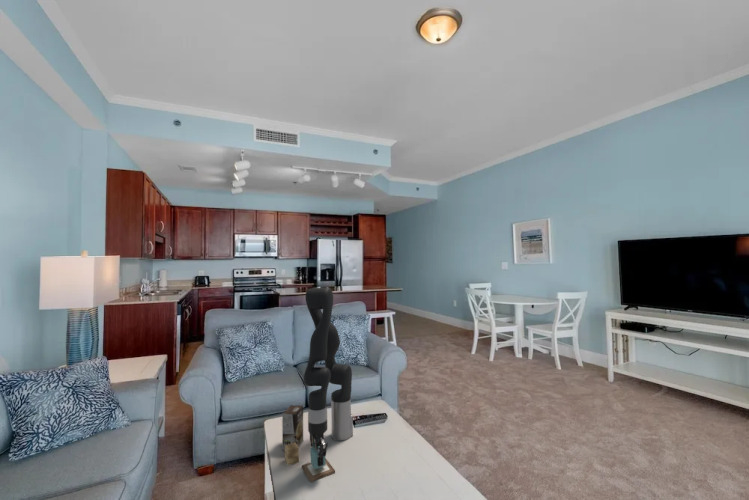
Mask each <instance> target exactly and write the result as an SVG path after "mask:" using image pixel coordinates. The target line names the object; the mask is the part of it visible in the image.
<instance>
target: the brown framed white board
mask: <svg viewBox="0 0 749 500" xmlns="http://www.w3.org/2000/svg"><path fill="white" fill-rule="evenodd" d="M301 469H302V470H303V472H304V474H305V476H306V477H307V479H308V481H309V482H310V483H313V482H314V481H317V480H320V479H323V478H325V477H328V476H330V475H333V474H336V470H335V468H334V467H333V465H331V463H330V462H329V461H328V459H327V458H326V466H323V467H320V468H317V469H314V467H313V466H312V464H311V462H307V463H306V464H303V465H301Z"/></svg>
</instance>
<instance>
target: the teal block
mask: <svg viewBox="0 0 749 500" xmlns="http://www.w3.org/2000/svg"><path fill="white" fill-rule="evenodd" d="M318 447H320V446H318ZM319 451H320V450H319ZM326 459H327V455H326V456H324V457H323V465H322V466H318V456H317V450H316V449H315V447H312V446H311V447H310V463H311V464H312V466H313V467H314V469H317V468H320V467H323V466H326Z"/></svg>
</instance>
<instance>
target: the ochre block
mask: <svg viewBox="0 0 749 500" xmlns="http://www.w3.org/2000/svg"><path fill="white" fill-rule="evenodd" d="M299 448H300V446H299V447H298V445H297V444H296V442H295V443H291V444H288V445H285V451H284V460H285V461H284V462H285V463H286V464H287V466H291V465H294V464H298V463H299V461H300V459H299V458H300V457H299V456H300V453H299V452H300V449H299Z"/></svg>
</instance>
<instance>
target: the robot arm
mask: <svg viewBox="0 0 749 500" xmlns="http://www.w3.org/2000/svg"><path fill="white" fill-rule="evenodd" d="M333 293H334V292H333V290H332V289H331V288H330V287H313V288H308V289H307V290H306V292H305V303H306V307H307V310H308V312H309V315H310V318H311V320H312V323H313V325H314V328H315V329H314V331H313V332H312V334H311V337H310V342H309V357H308V360H307V365H306V368H305V370H304V374H303V383H304V384H305V385H306V387H307V386H308V387H321V388H319V389H314V390H312V391H310V392H309V394H308V411H307V425H308V426H307V431H308V433H309V441H310V447H311V448H312V447H315V449H316V450H317V456H318V466H322V465H323V457H324V456H326V457H327V449H328V442H326V441H325V439H326V438H325V435H324V434H325V433H326V432H327V431H328V409H327V406H328V405H327V397H328V396H327V394H328V388H329V384H332V385H338V386H341V388H339V389H335V390H333V392H331V395H330V398H331V401H330V402H331V403H330V405H331V406H330V407H331V408H330V409H331V410H330V412H331V413H330V414H331V438H332V439H333V440H335V441H346V440H349V439H350V438H351V437H352V436H354V427H353V425H354V424H353V423H354V422H353V421H354V416H353V414H352V404H351V403H352V397H351V395H352V381H353V376H352V375H353V372H352V371H353V370H352V367H351V365H348V364H343V363H342V364H341V363H337V362H336V359H335V358H336V354H337V352H338V350H339V348H340V344H341V340H340V336H339V331H338V328H337V327H336V326H335V325H334V324H333V323H332V322H331V318H332V312H333V307H334V306H333V305H334V294H333ZM319 362H324V365H325V366H322V367H320V366H319V367H318V366H317V367H316V366H315V365H316V364H317V363H319ZM318 446H320V447H318ZM319 450H320V451H319Z"/></svg>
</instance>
